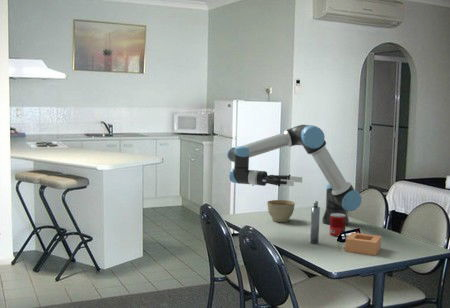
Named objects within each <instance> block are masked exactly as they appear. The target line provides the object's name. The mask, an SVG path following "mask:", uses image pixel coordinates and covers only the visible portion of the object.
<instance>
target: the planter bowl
mask: <svg viewBox="0 0 450 308" xmlns="http://www.w3.org/2000/svg"><path fill="white" fill-rule="evenodd" d="M266 205H267V211H268V213H269V216H270V217H271V219H272V221H273V222H276V223H285V222H288V221H290V218H292V216H293V213H294V210H295V205H296V202H295V201H292V200H285V199H274V200H273V199H271V200H268V201H267V202H266Z"/></svg>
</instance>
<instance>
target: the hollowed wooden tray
mask: <svg viewBox="0 0 450 308" xmlns="http://www.w3.org/2000/svg"><path fill="white" fill-rule="evenodd" d="M344 245H345V248H344V251H345V252H348V253H354V254H355V253H357V254H363V255H368V256H377V254H378V253H379V251H380V250H381V248H382V235H377V234H376V235H374V234H368V233H367V234H366V233H360V232H351V233H350V234H349V235H348V236H347V237H346V238H345V244H344Z"/></svg>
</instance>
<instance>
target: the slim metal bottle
mask: <svg viewBox="0 0 450 308" xmlns="http://www.w3.org/2000/svg"><path fill="white" fill-rule="evenodd" d="M320 212H321V207H319V201H318V200H314V201H313V206H311V217H310V219H311V220H310V241H309V243H310V244H311V245H319V243H320V242H319V241H320V237H319V236H320V216H321V215H320Z"/></svg>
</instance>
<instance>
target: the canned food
mask: <svg viewBox="0 0 450 308" xmlns="http://www.w3.org/2000/svg"><path fill="white" fill-rule="evenodd" d="M345 223H346V215H345V214H341V213H332V214H331V215H330V225H329V235H330V236H332V237H337V236H338V235H339V234H340V233H341V232H345V233H346V225H345Z"/></svg>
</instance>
